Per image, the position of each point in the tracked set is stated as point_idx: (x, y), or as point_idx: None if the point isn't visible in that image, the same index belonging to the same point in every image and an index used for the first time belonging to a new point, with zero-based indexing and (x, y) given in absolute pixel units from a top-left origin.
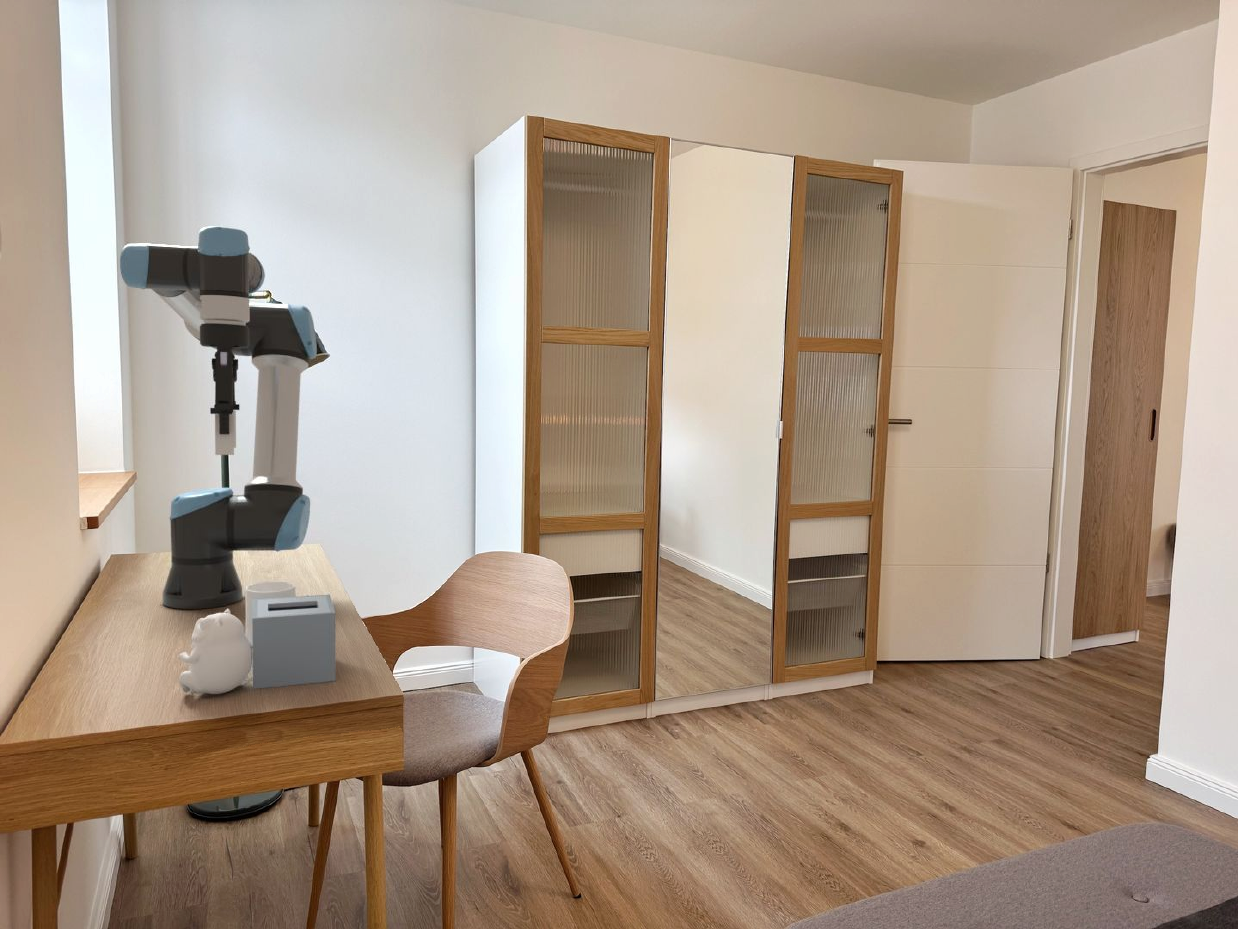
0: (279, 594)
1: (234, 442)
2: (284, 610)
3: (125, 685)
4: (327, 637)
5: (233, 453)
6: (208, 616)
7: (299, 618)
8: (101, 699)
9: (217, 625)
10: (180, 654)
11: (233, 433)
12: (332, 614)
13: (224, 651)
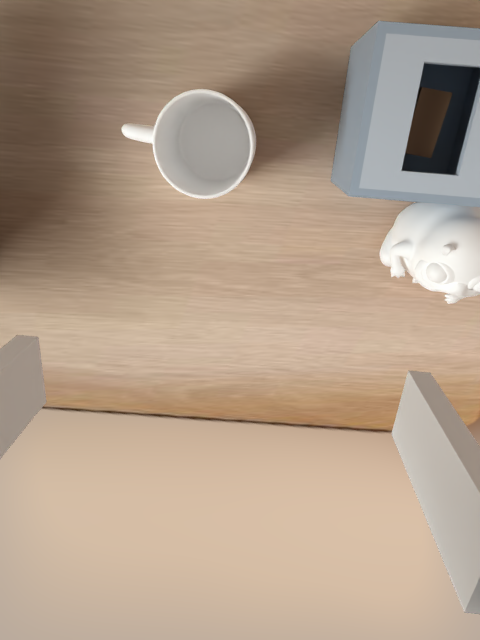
0: (252, 131)
1: (25, 355)
2: (469, 143)
3: (345, 339)
4: None
5: (432, 377)
6: (444, 278)
7: None
8: (385, 361)
9: None
10: (454, 302)
11: (473, 438)
12: None
13: None
